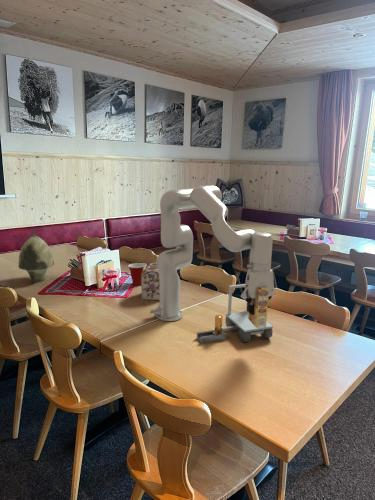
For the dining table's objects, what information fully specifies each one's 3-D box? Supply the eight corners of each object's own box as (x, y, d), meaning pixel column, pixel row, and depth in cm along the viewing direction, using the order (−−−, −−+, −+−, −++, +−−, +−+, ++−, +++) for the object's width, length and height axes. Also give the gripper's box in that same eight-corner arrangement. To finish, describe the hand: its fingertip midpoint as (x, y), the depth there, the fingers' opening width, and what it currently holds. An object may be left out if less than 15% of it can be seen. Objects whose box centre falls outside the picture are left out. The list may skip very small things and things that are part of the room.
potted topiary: (32, 277, 230) (26, 230, 226) (61, 277, 227) (56, 228, 223) (13, 285, 211) (7, 233, 207) (45, 284, 208) (39, 231, 204)
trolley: (244, 344, 147) (247, 300, 143) (224, 326, 164) (226, 285, 159) (272, 340, 152) (275, 296, 147) (250, 322, 168) (252, 282, 163)
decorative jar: (166, 293, 203) (167, 261, 198) (163, 300, 191) (163, 267, 187) (145, 291, 204) (145, 260, 199) (140, 299, 193) (140, 266, 188)
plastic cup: (139, 279, 224) (139, 260, 221) (150, 284, 216) (150, 264, 213) (124, 283, 216) (124, 264, 213) (135, 288, 209) (135, 268, 206)
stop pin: (215, 337, 150) (215, 318, 148) (212, 334, 153) (212, 315, 151) (238, 333, 154) (239, 315, 152) (234, 330, 157) (235, 312, 155)
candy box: (266, 327, 136) (269, 288, 133) (256, 328, 135) (258, 289, 132) (256, 317, 145) (259, 280, 141) (246, 318, 144) (249, 281, 140)
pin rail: (201, 343, 148) (201, 337, 147) (196, 338, 152) (196, 332, 152) (226, 339, 151) (226, 333, 151) (220, 334, 156) (221, 328, 155)
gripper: (244, 271, 128) (242, 319, 133) (285, 267, 134) (282, 313, 139) (234, 265, 135) (232, 311, 140) (274, 261, 141) (270, 306, 145)
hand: (257, 312), depth 139 cm, fingers closed on candy box, 4 cm apart
